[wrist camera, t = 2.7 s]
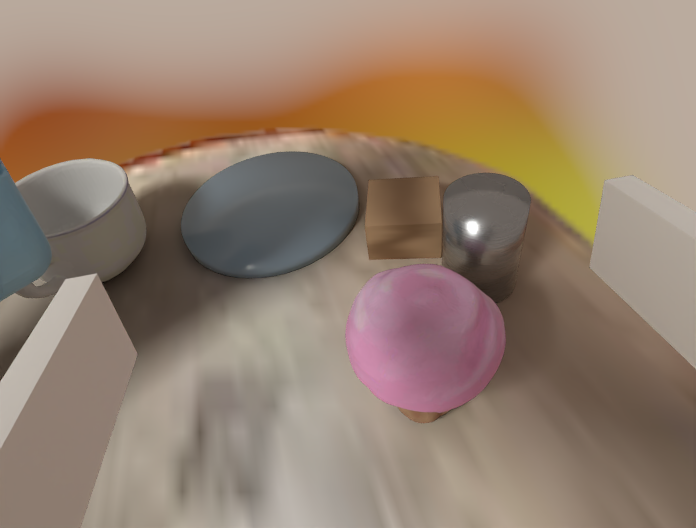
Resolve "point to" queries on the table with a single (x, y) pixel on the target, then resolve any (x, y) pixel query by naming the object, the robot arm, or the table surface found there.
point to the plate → (270, 214)
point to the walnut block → (404, 218)
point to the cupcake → (424, 339)
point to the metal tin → (485, 231)
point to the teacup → (83, 221)
